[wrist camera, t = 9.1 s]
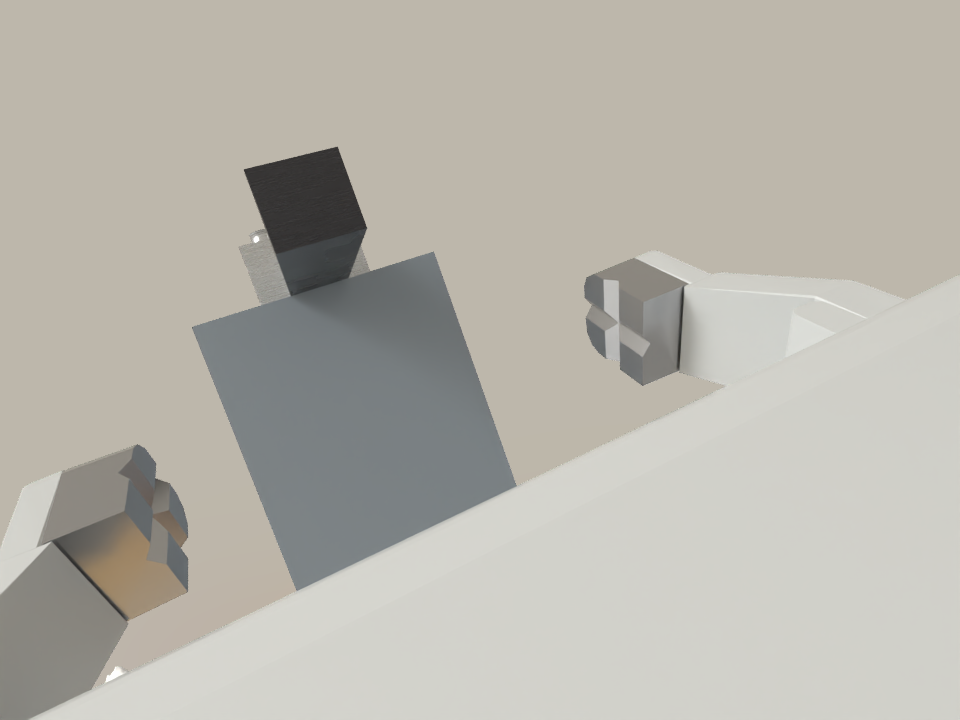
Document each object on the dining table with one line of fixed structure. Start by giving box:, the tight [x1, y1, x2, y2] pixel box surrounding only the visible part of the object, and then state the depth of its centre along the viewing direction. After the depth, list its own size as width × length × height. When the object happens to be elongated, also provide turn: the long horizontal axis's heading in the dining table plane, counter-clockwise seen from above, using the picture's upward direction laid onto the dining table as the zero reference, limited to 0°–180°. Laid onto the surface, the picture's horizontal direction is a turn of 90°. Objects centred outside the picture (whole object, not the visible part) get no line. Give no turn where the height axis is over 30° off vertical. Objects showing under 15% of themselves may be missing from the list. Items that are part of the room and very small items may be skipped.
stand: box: [192, 252, 516, 591], centre depth 27 cm, size 8×10×27 cm
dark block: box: [239, 147, 370, 305], centre depth 22 cm, size 16×5×4 cm, turn 17°
